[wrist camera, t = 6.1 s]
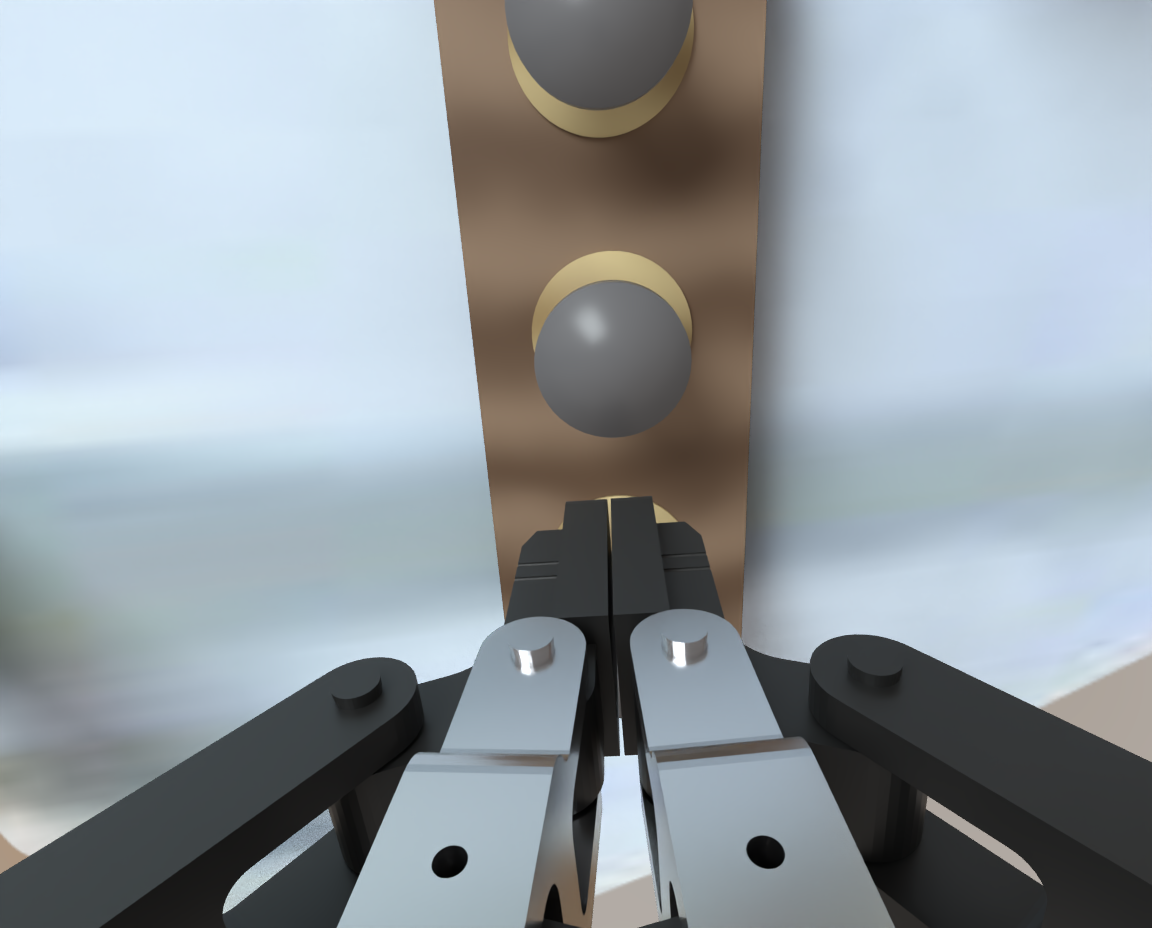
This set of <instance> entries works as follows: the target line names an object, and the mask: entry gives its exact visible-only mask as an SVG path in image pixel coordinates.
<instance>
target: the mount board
mask: <svg viewBox="0 0 1152 928" xmlns="http://www.w3.org/2000/svg"><path fill="white" fill-rule="evenodd" d="M766 4H767V0H693V6H692V14H691V20H690V25H689V28H688V32H687V35H686V38H685V41H684V43H683V45H682V48H681V50H680V52H679V54H678V55H677V57H676V59H675V61H674V63H673V64H672V66H671V68H670V69H669V71H668V72H667V73H666V75H665V76H664V77H663V78H662V80H661V81H660V82H659V83H658V84H657V85H656V86H655V87H654V88H653V89H651V90H650V91H649V92H648V93H647V94H645V95H644V96H642V97H641V98H639V99H637V100H636V101H634V102H632V103H629V104H627V105H625V106H622V107H618V108H615V109H609V110H585V109H579V108H576V107H573V106H570V105H567V104H565V103H563V102H561V101H559V100H557V99H556V98H554V97H553V96H551V95H550V94H548V93H547V92H546V91H545V90H544V89H543V88H542V87H540V86H539V84H538V83H537V82H536V81H535V80H534V79H533V78H532V76H531V75H530V74H529V72H528V71H527V69H526V68H525V66H524V65H523V63H522V62H521V60H520V58H519V56H518V54H517V52H516V50H515V48H514V45H513V43H512V40H511V37H510V34H509V30H508V26H507V21H506V13H505V0H434V6H435V15H436V23H437V32H438V41H439V50H440V58H441V67H442V76H443V85H444V93H445V102H446V111H447V120H448V128H449V137H450V146H451V155H452V163H453V172H454V181H455V190H456V198H457V207H458V216H459V225H460V233H461V242H462V251H463V260H464V268H465V277H466V286H467V295H468V303H469V312H470V321H471V330H472V339H473V347H474V356H475V365H476V374H477V382H478V391H479V400H480V409H481V417H482V426H483V435H484V444H485V452H486V461H487V470H488V479H489V487H490V496H491V505H492V514H493V522H494V531H495V540H496V549H497V557H498V566H499V575H500V584H501V592H502V601H503V610H504V619H506V615H507V610H508V606H509V601H510V597H511V592H512V588H513V583H514V581H515V575H516V570H517V567H518V561H519V557H520V552H521V548H522V546H523V545H524V544H525V543H526V542H527V541H528V540H529V539H530V538H531V537H532V536H533V535H534V534H535V533H536V532H537V531H542V530H558V529H562V528H563V520H564V511H565V503H566V502H567V501H583V500H598V499H607V502H608V512H609V524H610V537H611V498H627V497H642V496H652V498H653V505H654V511H655V518H656V523H668V522H684V521H685V522H686V523H687V524H689V525H690V526H691V527H692V528H693V529H695V530H696V531H697V532H698V533H699V534H701V536H702V539H703V543H704V546H705V550H706V555H707V557H708V561H709V564H710V570H711V572H712V575H713V579H714V582H715V586H716V590H717V593H718V597H719V600H720V604H721V607H722V611H723V615H724V618H725V620H726V621H728V622H729V623H730V624H732V626H733V627H734V628H735V629H736V630H737V632H738V634H739V635H740V638H741V634H742V609H743V584H744V558H745V533H746V508H747V483H748V458H749V432H750V407H751V382H752V357H753V332H754V306H755V281H756V256H757V231H758V205H759V180H760V155H761V130H762V105H763V79H764V54H765V29H766ZM603 280H624V281H630V282H634V283H637V284H640V285H642V286H645V287H647V288H649V289H651V290H652V291H654V292H656V293H657V294H659V295H660V296H661V297H662V298H663V299H665V300H666V301H667V302H668V303H669V305H670V306H671V307H672V308H673V309H674V311H675V312H676V314H677V315H678V317H679V318H680V320H681V322H682V324H683V326H684V328H685V330H686V333H687V336H688V339H689V343H690V348H691V358H692V362H691V372H690V377H689V381H688V384H687V387H686V390H685V392H684V394H683V396H682V398H681V399H680V401H679V402H678V404H677V405H676V407H675V408H674V409H673V410H672V411H671V412H670V414H669V415H668V416H666V417H665V418H664V419H663V420H662V421H661V422H659V423H658V424H656V425H655V426H653V427H651V428H649V429H647V430H645V431H643V432H640V433H638V434H635V435H631V436H626V437H618V438H605V437H598V436H594V435H590V434H586V433H584V432H581V431H579V430H577V429H575V428H573V427H571V426H570V425H568V424H567V423H565V422H564V421H563V420H561V419H560V418H559V417H558V416H557V415H556V414H555V413H554V412H553V411H552V409H551V408H550V407H549V406H548V404H547V403H546V401H545V399H544V398H543V396H542V394H541V391H540V389H539V387H538V383H537V380H536V375H535V368H534V356H535V347H536V343H537V340H538V336H539V334H540V331H541V329H542V327H543V324H544V322H545V320H546V319H547V317H548V315H549V314H550V312H551V311H552V310H553V308H554V307H555V306H556V305H557V304H558V303H559V302H560V301H561V300H562V299H563V298H564V297H565V296H567V295H568V294H569V293H571V292H572V291H574V290H576V289H578V288H579V287H582V286H584V285H587V284H589V283H593V282H597V281H603ZM611 550H612V537H611Z"/></svg>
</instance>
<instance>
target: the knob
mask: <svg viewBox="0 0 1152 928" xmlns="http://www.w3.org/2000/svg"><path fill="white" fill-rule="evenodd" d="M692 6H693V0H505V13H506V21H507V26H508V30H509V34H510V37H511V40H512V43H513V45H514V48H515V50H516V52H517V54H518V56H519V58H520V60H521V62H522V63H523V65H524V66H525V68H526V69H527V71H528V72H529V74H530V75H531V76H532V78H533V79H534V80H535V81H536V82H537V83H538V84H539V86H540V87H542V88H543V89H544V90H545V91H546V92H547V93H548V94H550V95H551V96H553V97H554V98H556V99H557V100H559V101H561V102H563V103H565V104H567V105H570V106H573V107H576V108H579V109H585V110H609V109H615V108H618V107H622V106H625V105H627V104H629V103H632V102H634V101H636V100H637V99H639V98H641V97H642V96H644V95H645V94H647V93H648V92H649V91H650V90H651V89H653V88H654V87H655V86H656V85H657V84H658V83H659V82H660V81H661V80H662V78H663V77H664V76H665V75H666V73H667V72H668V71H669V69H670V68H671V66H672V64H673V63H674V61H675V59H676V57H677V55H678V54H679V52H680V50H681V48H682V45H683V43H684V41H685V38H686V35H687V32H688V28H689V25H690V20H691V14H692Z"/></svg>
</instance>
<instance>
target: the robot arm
mask: <svg viewBox="0 0 1152 928" xmlns="http://www.w3.org/2000/svg"><path fill="white" fill-rule="evenodd" d="M611 537H612V550H611ZM611 537H610V524H609V512H608V502H607V499H598V500H583V501H567V502H566V503H565V511H564V520H563V528H562V529H558V530H542V531H537V532H536V533H535V534H534V535H533V536H532V537H531V538H530V539H529V540H528V541H527V542H526V543H525V544H524V545H523V546H522V548H521V552H520V557H519V561H518V567H517V570H516V575H515V581H514V583H513V588H512V592H511V597H510V601H509V606H508V610H507V615H506V619H505V624H504V626H502V627H500V628H498V629H497V630H495V631H494V632H492V633H491V634H490V635H489V636H488V637H487V638H486V639H485V640H484V642H483V643H482V645H481V647H480V649H479V652H478V654H477V657H476V660H475V662H474V665H473V666H472V667H471V668H469V669H466V670H464V671H462V672H459V673H456V674H453V675H450V676H447V677H443V678H439V679H436V680H432V681H428V682H425V683H421V684H418V683H417V679H416V675H415V673H414V671H413V670H412V668H411V667H410V666H408V665H407V664H406V663H404V662H402V661H400V660H396V659H392V658H384V657H378V658H367V659H362V660H357V661H354V662H351V663H348V664H345V665H342V666H340V667H338V668H336V669H334V670H332V671H330V672H328V673H327V674H325V675H324V676H322V677H320V678H319V679H317V680H315V681H314V682H312V683H311V684H309V685H307V686H306V687H304V688H302V689H301V690H299V691H297V692H296V693H294V694H293V695H291V696H289V697H288V698H286V699H284V700H283V701H281V702H280V703H278V704H276V705H275V706H273V707H271V708H270V709H268V710H267V711H265V712H263V713H262V714H260V715H258V716H257V717H255V718H254V719H252V720H250V721H249V722H247V723H245V724H244V725H242V726H241V727H239V728H237V729H236V730H234V731H232V732H231V733H229V734H227V735H226V736H224V737H223V738H221V739H219V740H218V741H216V742H214V743H213V744H211V745H210V746H208V747H206V748H205V749H203V750H201V751H200V752H198V753H197V754H195V755H193V756H192V757H190V758H188V759H187V760H185V761H184V762H182V763H180V764H179V765H177V766H175V767H174V768H172V769H171V770H169V771H167V772H166V773H164V774H162V775H161V776H159V777H157V778H156V779H154V780H153V781H151V782H149V783H148V784H146V785H144V786H143V787H141V788H140V789H138V790H136V791H135V792H133V793H131V794H130V795H128V796H127V797H125V798H123V799H122V800H120V801H118V802H117V803H115V804H114V805H112V806H110V807H109V808H107V809H105V810H104V811H102V812H101V813H99V814H97V815H96V816H94V817H92V818H91V819H89V820H87V821H86V822H84V823H83V824H81V825H79V826H78V827H76V828H74V829H73V830H71V831H70V832H68V833H66V834H65V835H63V836H61V837H60V838H58V839H57V840H55V841H53V842H52V843H50V844H48V845H47V846H45V847H44V848H42V849H40V850H39V851H37V852H35V853H34V854H32V855H31V856H29V857H27V858H26V859H24V860H22V861H21V862H19V863H18V864H16V865H14V866H13V867H11V868H9V869H8V870H6V871H4V872H3V873H1V874H0V928H591V926H592V914H593V904H594V893H595V882H596V872H597V861H598V850H599V839H600V828H601V817H602V796H601V788H602V785H603V782H604V756H620V739H619V704H618V679H619V691H620V703H621V715H622V727H623V740H624V752H625V755H638V762H639V775H640V789H641V802H642V812H643V818H644V825H645V831H646V838H647V845H648V851H649V858H650V864H651V871H652V877H653V884H654V891H655V897H656V903H657V910H658V917H659V922H656V923H653V924H649V925H646V926H643V927H639V928H1152V762H1150V761H1148V760H1146V759H1143V758H1141V757H1139V756H1137V755H1135V754H1133V753H1131V752H1129V751H1127V750H1125V749H1123V748H1121V747H1118V746H1116V745H1114V744H1112V743H1110V742H1108V741H1106V740H1104V739H1102V738H1100V737H1097V736H1096V735H1093V734H1091V733H1089V732H1087V731H1085V730H1083V729H1081V728H1079V727H1077V726H1075V725H1072V724H1070V723H1068V722H1066V721H1064V720H1062V719H1060V718H1058V717H1056V716H1054V715H1052V714H1050V713H1047V712H1045V711H1043V710H1041V709H1039V708H1037V707H1035V706H1033V705H1031V704H1029V703H1027V702H1024V701H1022V700H1020V699H1018V698H1016V697H1014V696H1012V695H1010V694H1008V693H1006V692H1004V691H1001V690H999V689H997V688H995V687H993V686H991V685H989V684H987V683H985V682H983V681H981V680H978V679H976V678H974V677H972V676H970V675H968V674H966V673H964V672H962V671H960V670H958V669H955V668H953V667H951V666H949V665H947V664H945V663H943V662H941V661H939V660H937V659H935V658H932V657H930V656H928V655H926V654H924V653H922V652H920V651H918V650H916V649H914V648H912V647H909V646H907V645H905V644H903V643H900V642H898V641H895V640H891V639H888V638H884V637H879V636H873V635H845V636H840V637H836V638H833V639H830V640H828V641H826V642H824V643H822V644H821V645H820V646H818V647H817V648H816V649H815V651H814V652H813V654H812V656H811V659H810V664H809V663H803V662H797V661H791V660H785V659H780V658H775V657H771V656H768V655H765V654H762V653H759V652H757V651H755V650H752V649H751V648H749V647H747V646H745V645H744V644H743V642H742V640H741V638H740V635H739V634H738V632H737V630H736V629H735V628H734V627H733V626H732V624H730V623H729V622H728V621H726V620H725V618H724V615H723V611H722V607H721V604H720V600H719V597H718V593H717V590H716V586H715V582H714V579H713V575H712V572H711V570H710V564H709V561H708V557H707V555H706V550H705V546H704V543H703V539H702V536H701V534H699V533H698V532H697V531H696V530H695V529H693V528H692V527H691V526H690V525H689V524H687V523H686V522H685V521H684V522H668V523H656V518H655V511H654V505H653V498H652V496H642V497H627V498H611ZM617 666H618V670H617ZM927 796H929V797H930V798H932V799H933V800H935V801H936V802H938V803H940V804H941V805H943V806H944V807H946V808H948V809H949V810H951V811H952V812H954V813H955V814H957V815H958V816H960V817H962V818H963V819H965V820H966V821H968V822H969V823H971V824H972V825H974V826H976V827H977V828H979V829H980V830H982V831H983V832H985V833H987V834H988V835H990V836H991V837H993V838H994V839H996V840H998V841H999V842H1001V843H1002V844H1004V845H1005V846H1007V847H1009V848H1010V849H1011V850H1013V851H1014V852H1016V853H1017V854H1018V855H1019V856H1021V857H1022V858H1023V859H1024V860H1025V861H1026V862H1027V863H1028V864H1029V865H1030V866H1031V868H1032V869H1033V870H1034V871H1035V872H1036V874H1037V876H1038V877H1039V879H1040V880H1041V882H1042V884H1043V885H1041V884H1040V883H1038V882H1036V881H1035V880H1033V879H1032V878H1030V877H1029V876H1027V875H1026V874H1024V873H1023V872H1021V871H1020V870H1018V869H1017V868H1015V867H1014V866H1012V865H1011V864H1009V863H1007V862H1006V861H1004V860H1003V859H1001V858H1000V857H998V856H997V855H995V854H994V853H992V852H991V851H989V850H987V849H986V848H985V847H983V846H982V845H980V844H978V843H977V842H975V841H974V840H972V839H971V838H969V837H968V836H966V835H965V834H963V833H962V832H960V831H959V830H957V829H956V828H954V827H953V826H951V825H949V824H948V823H946V822H945V821H943V820H942V819H940V818H939V817H937V816H936V815H934V814H933V813H931V812H930V811H928V810H926V803H927ZM326 809H329V813H330V816H331V819H332V823H333V826H334V828H333V829H332V830H331V831H330V832H328V833H327V834H326V835H325V836H323V837H322V838H321V839H320V840H318V841H317V842H316V843H315V844H313V845H312V846H311V847H310V848H308V849H307V850H306V851H305V852H303V853H302V854H301V855H299V856H298V857H297V858H296V859H294V860H293V861H292V862H291V863H289V864H288V865H287V866H286V867H284V868H283V869H282V870H281V871H279V872H278V873H277V874H276V875H274V876H273V877H272V878H270V879H269V880H268V881H267V882H265V883H264V884H263V885H262V886H260V887H259V888H258V889H257V890H255V891H254V892H253V893H252V894H250V895H249V896H248V897H247V898H245V899H244V900H243V901H241V902H240V903H239V904H238V905H236V906H235V907H234V908H232V909H231V910H230V911H228V912H226V913H224V914H223V906H224V903H225V900H226V898H227V896H228V894H229V892H230V890H231V888H232V887H233V885H234V884H235V883H236V881H237V880H238V879H239V878H240V877H241V876H242V875H243V874H244V873H245V872H246V871H247V870H248V869H250V868H251V867H252V866H253V865H255V864H256V863H257V862H259V861H260V860H261V859H262V858H264V857H265V856H266V855H268V854H269V853H270V852H272V851H273V850H274V849H276V848H277V847H278V846H279V845H281V844H282V843H283V842H285V841H286V840H287V839H289V838H290V837H291V836H292V835H294V834H295V833H296V832H298V831H299V830H300V829H302V828H303V827H304V826H306V825H307V824H308V823H309V822H311V821H312V820H313V819H315V818H316V817H317V816H319V815H320V814H321V813H323V812H324V811H325V810H326Z"/></svg>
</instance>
